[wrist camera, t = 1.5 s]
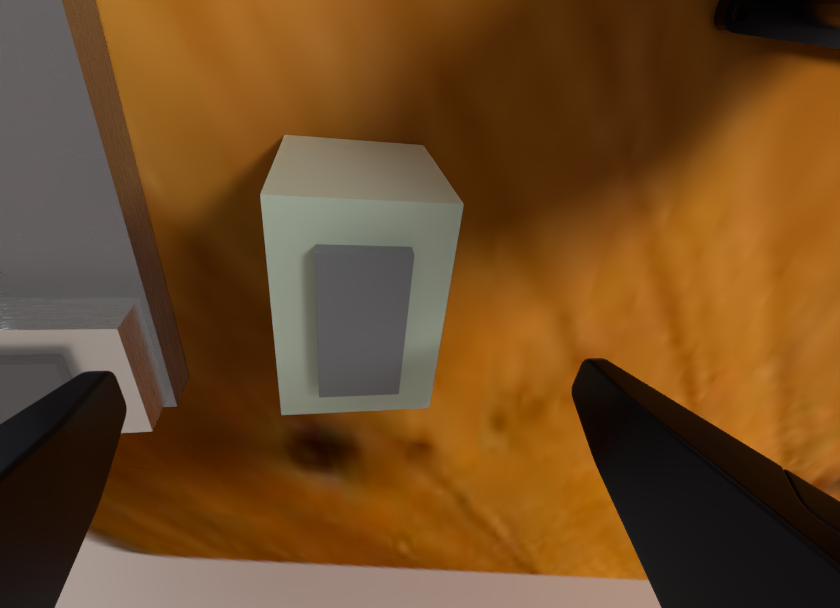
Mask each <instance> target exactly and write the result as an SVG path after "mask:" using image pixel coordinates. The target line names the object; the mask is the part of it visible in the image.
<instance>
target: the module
mask: <svg viewBox="0 0 840 608" xmlns="http://www.w3.org/2000/svg"><path fill="white" fill-rule="evenodd" d="M260 199H261V210H262V220H263V230H264V241H265V251H266V261H267V272H268V282H269V292H270V303H271V313H272V323H273V334H274V344H275V354H276V365H277V375H278V385H279V396H280V406H281V415H296V414H317V413H337V412H357V411H377V410H398V409H418V408H429V406H430V400H431V394H432V388H433V383H434V377H435V371H436V365H437V359H438V353H439V347H440V342H441V336H442V330H443V324H444V318H445V312H446V306H447V300H448V295H449V289H450V283H451V277H452V271H453V265H454V259H455V253H456V248H457V242H458V236H459V230H460V224H461V218H462V212H463V207H464V204H463V202H462V201H461V199H460V198H459V196H458V195H457V193H456V192H455V190H454V189H453V188H452V186H451V185H450V183H449V182H448V180H447V179H446V177H445V176H444V174H443V173H442V171H441V170H440V169H439V167H438V166H437V164H436V163H435V161H434V160H433V158H432V157H431V155H430V154H429V152H428V151H427V150H426V148H425V147H424V145H417V144H403V143H390V142H376V141H363V140H349V139H336V138H322V137H309V136H295V135H284V137H283V140H282V142H281V145H280V147H279V150H278V152H277V154H276V157H275V159H274V162H273V164H272V167H271V169H270V172H269V174H268V176H267V179H266V181H265V184H264V186H263V189H262V191H261V193H260Z"/></svg>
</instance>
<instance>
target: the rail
mask: <svg viewBox="0 0 840 608" xmlns="http://www.w3.org/2000/svg"><path fill="white" fill-rule="evenodd" d="M86 371H111V372H113V373H114V374H115V376H116V378H117V381H118V383H119V386H120V389H121V391H122V394H123V397H124V399H125V402H126V407H127V412H126V418H125V421H124V424H123V428H122V431H121V433H133V432H152V431H153V429H154V427H155V425H156V422H157V420H158V418H159V415H160V413H161V411H162V409H163V407H177V405H178V403H179V400H180V398H181V395H182V393H183V390H184V388H185V386H186V383H187V381H188V378H189V375H188V371H187V367H186V363H185V359H184V355H183V350H182V346H181V342H180V338H179V334H178V330H177V326H176V322H175V318H174V314H173V310H172V306H171V302H170V298H169V294H168V290H167V286H166V282H165V278H164V274H163V270H162V266H161V262H160V258H159V254H158V250H157V246H156V242H155V238H154V234H153V230H152V226H151V222H150V218H149V214H148V210H147V206H146V202H145V198H144V194H143V190H142V186H141V182H140V178H139V174H138V170H137V166H136V162H135V158H134V154H133V150H132V146H131V142H130V138H129V134H128V130H127V126H126V122H125V118H124V114H123V110H122V106H121V102H120V98H119V94H118V90H117V86H116V82H115V78H114V74H113V70H112V65H111V61H110V57H109V53H108V49H107V45H106V41H105V37H104V33H103V29H102V25H101V21H100V17H99V13H98V9H97V5H96V1H95V0H0V424H1V423H3V422H4V421H6V420H7V419H9V418H11V417H12V416H14V415H15V414H17V413H19V412H20V411H22V410H23V409H25V408H26V407H28V406H30V405H31V404H33V403H34V402H36V401H37V400H39V399H41V398H42V397H44V396H45V395H47V394H49V393H50V392H52V391H53V390H55V389H56V388H58V387H60V386H61V385H63V384H64V383H66V382H68V381H69V380H71V379H72V378H74V377H75V376H77V375H79V374H81V373H82V372H86Z"/></svg>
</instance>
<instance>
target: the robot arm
mask: <svg viewBox="0 0 840 608" xmlns="http://www.w3.org/2000/svg"><path fill="white" fill-rule="evenodd" d="M738 4H740V10H739V13H738V15H737V16H736V18H735V19H733V13H734V10H735V8H736V6H737V5H738ZM714 25H715V27H716V29H717V30H718V31H720V32H722V33H729V34H736V35H743V36H750V37H756V38H763V39H770V40H777V41H784V42H790V43H797V44H804V45H811V46H818V47H824V48H831V49H838V50H840V0H719V3H718V5H717V8H716V11H715V15H714ZM572 397H573V401H574V404H575V407H576V409H577V412H578V415H579V418H580V421H581V424H582V427H583V430H584V433H585V436H586V439H587V442H588V445H589V447H590V450H591V453H592V456H593V458H594V461H595V463H596V466H597V468H598V470H599V473H600V475H601V477H602V479H603V481H604V484H605V486H606V488H607V490H608V492H609V495H610V497H611V499H612V501H613V503H614V505H615V508H616V510H617V512H618V514H619V516H620V518H621V521H622V523H623V525H624V527H625V529H626V532H627V534H628V536H629V538H630V540H631V542H632V545H633V547H634V549H635V551H636V553H637V555H638V558H639V560H640V562H641V564H642V566H643V569H644V571H645V573H646V575H647V577H648V579H649V582H650V584H651V586H652V588H653V590H654V592H655V594H656V597H657V599H658V601H659V603H660V606H661V608H840V501H838V500H836V499H835V498H833V497H831V496H830V495H828V494H826V493H825V492H823V491H821V490H820V489H818V488H816V487H814V486H813V485H811V484H809V483H808V482H806V481H805V480H803V479H801V478H800V477H798V476H796V475H795V474H793V473H792V472H790V471H788V470H786V469H784V470H783V468H782V467H781V466H780V465H778V464H777V463H775V462H773V461H772V460H770V459H768V458H767V457H765V456H763V455H762V454H760V453H759V452H757V451H755V450H754V449H752V448H750V447H749V446H747V445H745V444H744V443H742V442H740V441H739V440H737V439H736V438H734V437H732V436H731V435H729V434H727V433H726V432H724V431H722V430H721V429H719V428H718V427H716V426H714V425H713V424H711V423H709V422H708V421H706V420H704V419H703V418H701V417H699V416H698V415H696V414H695V413H693V412H691V411H690V410H688V409H686V408H685V407H683V406H681V405H680V404H678V403H676V402H675V401H673V400H672V399H670V398H668V397H667V396H665V395H663V394H662V393H660V392H658V391H657V390H655V389H654V388H652V387H650V386H649V385H647V384H645V383H644V382H642V381H640V380H639V379H637V378H636V377H634V376H632V375H631V374H629V373H627V372H626V371H624V370H622V369H621V368H619V367H617V366H616V365H614V364H613V363H611V362H609V361H608V360H606V359H603V358H589V359H585V360H584V361H583V362H582V364H581V366H580V368H579V371H578V373H577V376H576V378H575V380H574V383H573V386H572ZM126 412H127V407H126V402H125V399H124V397H123V394H122V391H121V389H120V386H119V383H118V381H117V378H116V376H115V374H114V373H113V372H111V371H86V372H82V373H81V374H79V375H77V376H75V377H74V378H72V379H71V380H69V381H68V382H66V383H64V384H63V385H61V386H60V387H58V388H56V389H55V390H53V391H52V392H50V393H49V394H47V395H45V396H44V397H42V398H41V399H39V400H37V401H36V402H34V403H33V404H31V405H30V406H28V407H26V408H25V409H23V410H22V411H20V412H19V413H17V414H15V415H14V416H12V417H11V418H9V419H7V420H6V421H4V422H3V423H1V424H0V608H55V605H56V603H57V601H58V598H59V596H60V594H61V592H62V589H63V587H64V584H65V582H66V580H67V577H68V575H69V573H70V571H71V568H72V566H73V563H74V561H75V559H76V557H77V554H78V552H79V550H80V547H81V545H82V542H83V540H84V538H85V536H86V533H87V531H88V529H89V526H90V524H91V522H92V519H93V517H94V515H95V512H96V510H97V507H98V505H99V502H100V500H101V497H102V494H103V491H104V488H105V485H106V481H107V478H108V475H109V471H110V468H111V465H112V461H113V458H114V455H115V451H116V448H117V445H118V441H119V438H120V435H121V431H122V428H123V424H124V421H125V418H126Z"/></svg>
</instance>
